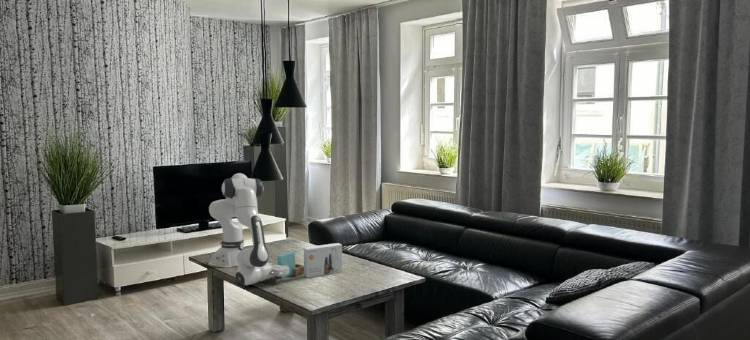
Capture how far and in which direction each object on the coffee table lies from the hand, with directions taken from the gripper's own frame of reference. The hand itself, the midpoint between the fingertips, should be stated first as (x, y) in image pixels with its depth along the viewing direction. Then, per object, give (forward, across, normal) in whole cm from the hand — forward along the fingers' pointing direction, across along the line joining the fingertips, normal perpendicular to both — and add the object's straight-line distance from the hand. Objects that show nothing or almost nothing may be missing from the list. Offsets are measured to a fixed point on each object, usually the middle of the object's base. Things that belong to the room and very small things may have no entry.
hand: (284, 265), depth 314 cm
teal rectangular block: (+2, 0, +6) cm, 6 cm away
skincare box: (+16, -14, +6) cm, 22 cm away
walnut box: (+8, 0, +6) cm, 10 cm away
